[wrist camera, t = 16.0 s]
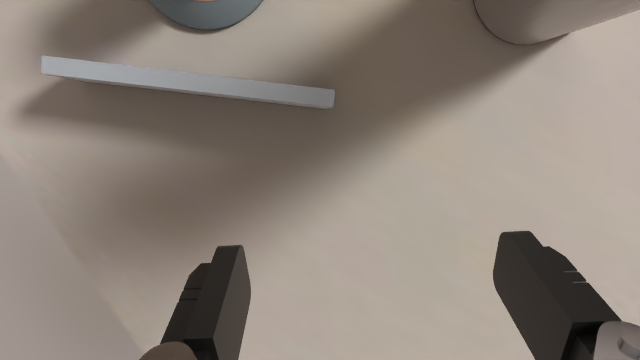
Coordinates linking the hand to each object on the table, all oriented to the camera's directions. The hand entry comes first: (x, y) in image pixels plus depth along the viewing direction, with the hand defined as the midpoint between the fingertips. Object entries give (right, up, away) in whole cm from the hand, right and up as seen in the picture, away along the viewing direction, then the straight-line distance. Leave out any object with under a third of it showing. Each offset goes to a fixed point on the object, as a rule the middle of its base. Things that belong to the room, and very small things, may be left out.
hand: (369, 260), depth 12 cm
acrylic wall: (-11, +10, +20) cm, 25 cm away
